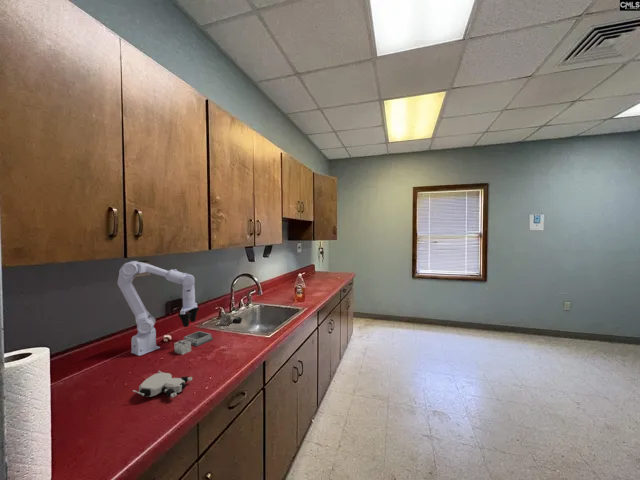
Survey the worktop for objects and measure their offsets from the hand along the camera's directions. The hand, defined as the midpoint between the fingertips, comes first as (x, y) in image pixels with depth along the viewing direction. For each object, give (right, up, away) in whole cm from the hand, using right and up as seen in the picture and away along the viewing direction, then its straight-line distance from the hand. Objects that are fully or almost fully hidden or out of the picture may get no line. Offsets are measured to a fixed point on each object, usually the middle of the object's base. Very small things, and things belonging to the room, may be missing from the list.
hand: (189, 324), depth 131 cm
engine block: (+2, -10, -10) cm, 15 cm away
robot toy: (+13, -11, -42) cm, 45 cm away
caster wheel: (+12, -9, +28) cm, 32 cm away
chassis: (+3, -10, +2) cm, 10 cm away
